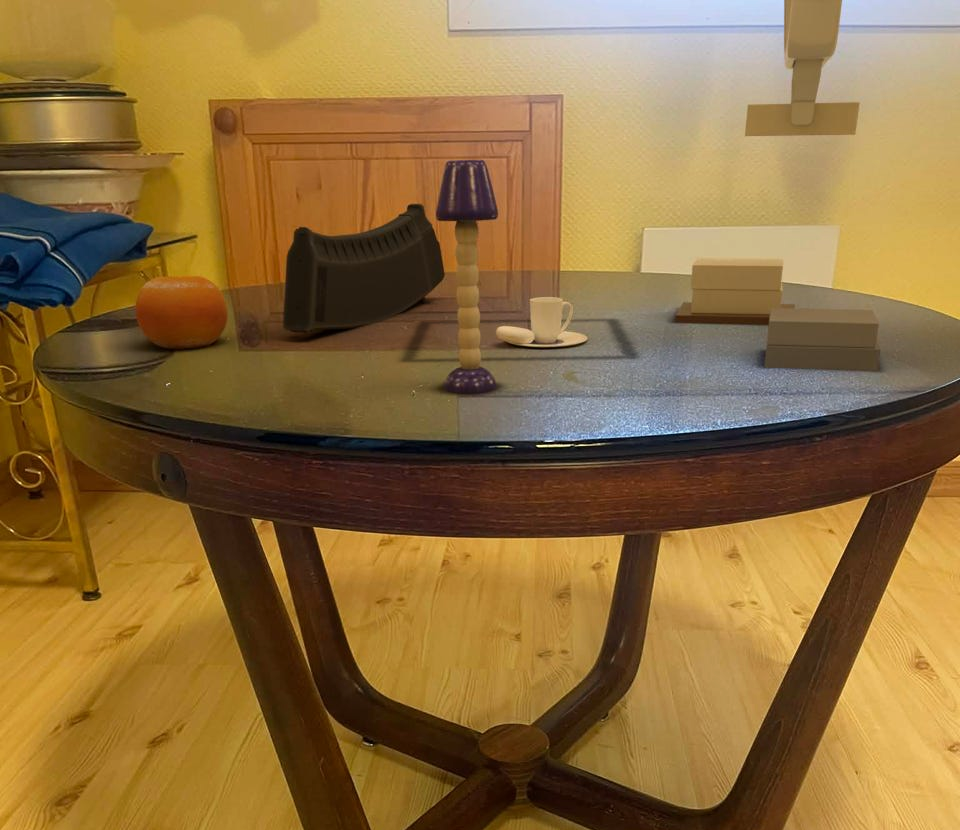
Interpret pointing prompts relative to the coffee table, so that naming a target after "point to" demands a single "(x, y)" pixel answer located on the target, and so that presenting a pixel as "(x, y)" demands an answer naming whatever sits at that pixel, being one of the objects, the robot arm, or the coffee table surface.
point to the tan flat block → (824, 123)
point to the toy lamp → (467, 264)
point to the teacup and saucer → (543, 325)
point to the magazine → (360, 273)
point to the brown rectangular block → (822, 339)
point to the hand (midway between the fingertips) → (799, 125)
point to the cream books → (733, 291)
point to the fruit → (181, 311)
